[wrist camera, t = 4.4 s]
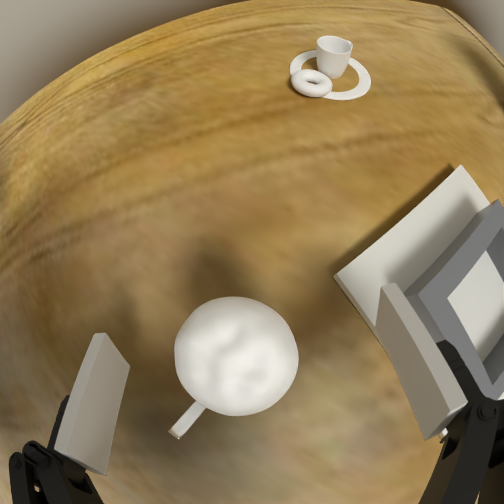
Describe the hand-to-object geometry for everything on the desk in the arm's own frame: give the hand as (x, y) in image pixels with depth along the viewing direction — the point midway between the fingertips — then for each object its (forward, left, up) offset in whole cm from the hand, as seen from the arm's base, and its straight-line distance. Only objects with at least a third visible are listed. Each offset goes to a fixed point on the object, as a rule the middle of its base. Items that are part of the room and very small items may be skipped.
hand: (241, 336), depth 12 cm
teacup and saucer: (-16, +17, -6) cm, 25 cm away
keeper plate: (+9, +14, -5) cm, 17 cm away
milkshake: (+1, -1, -6) cm, 6 cm away
